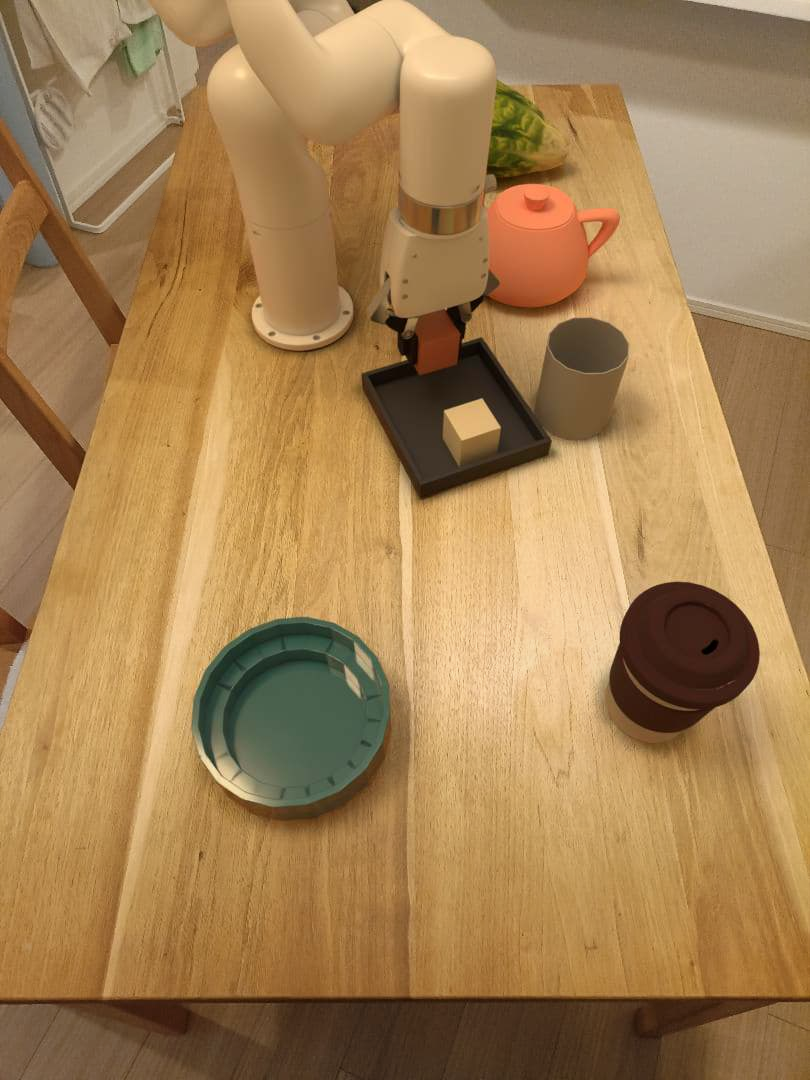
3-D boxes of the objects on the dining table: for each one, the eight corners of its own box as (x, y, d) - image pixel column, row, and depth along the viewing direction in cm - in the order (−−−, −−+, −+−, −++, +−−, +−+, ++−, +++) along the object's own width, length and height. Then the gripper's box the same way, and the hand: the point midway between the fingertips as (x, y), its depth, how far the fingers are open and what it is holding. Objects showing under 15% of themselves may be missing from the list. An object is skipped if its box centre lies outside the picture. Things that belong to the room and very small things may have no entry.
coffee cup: (578, 657, 70) (614, 575, 58) (684, 648, 71) (743, 565, 58) (602, 764, 65) (647, 700, 53) (717, 754, 66) (789, 688, 53)
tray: (362, 388, 89) (360, 373, 87) (480, 352, 92) (482, 336, 90) (420, 499, 80) (420, 485, 78) (548, 455, 83) (552, 440, 81)
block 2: (442, 438, 84) (443, 410, 81) (479, 426, 85) (482, 397, 81) (459, 468, 82) (461, 440, 78) (497, 455, 83) (501, 427, 79)
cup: (606, 445, 84) (627, 379, 76) (531, 434, 85) (543, 368, 77) (610, 389, 89) (630, 322, 80) (539, 380, 90) (552, 312, 81)
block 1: (403, 347, 85) (404, 316, 81) (440, 337, 86) (443, 305, 82) (419, 375, 83) (421, 345, 79) (457, 364, 84) (460, 333, 80)
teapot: (430, 314, 96) (432, 227, 86) (436, 239, 104) (438, 151, 94) (608, 321, 95) (631, 233, 85) (599, 244, 103) (620, 156, 93)
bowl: (186, 679, 70) (171, 656, 66) (353, 617, 73) (349, 592, 69) (234, 854, 62) (221, 840, 57) (420, 775, 65) (420, 757, 61)
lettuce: (549, 224, 113) (584, 147, 101) (394, 182, 110) (410, 99, 98) (557, 157, 118) (590, 77, 106) (409, 116, 116) (427, 30, 104)
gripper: (506, 156, 72) (485, 308, 87) (336, 196, 68) (345, 347, 84) (544, 203, 68) (515, 353, 84) (366, 247, 65) (370, 395, 80)
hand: (430, 348), depth 84 cm, fingers closed on block 1, 4 cm apart
